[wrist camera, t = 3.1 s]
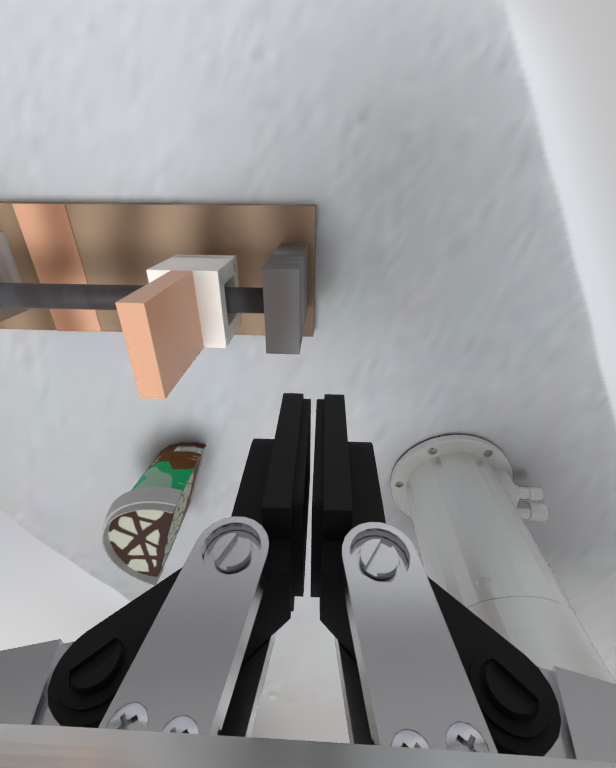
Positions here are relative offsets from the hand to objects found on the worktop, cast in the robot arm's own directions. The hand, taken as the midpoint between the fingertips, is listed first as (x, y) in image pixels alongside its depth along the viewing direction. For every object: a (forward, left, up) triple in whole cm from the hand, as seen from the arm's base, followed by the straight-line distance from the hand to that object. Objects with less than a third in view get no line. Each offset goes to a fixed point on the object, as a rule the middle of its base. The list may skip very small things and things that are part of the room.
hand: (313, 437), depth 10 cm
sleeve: (+8, 0, -16) cm, 18 cm away
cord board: (+15, 0, -22) cm, 27 cm away
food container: (+17, +22, -22) cm, 36 cm away
